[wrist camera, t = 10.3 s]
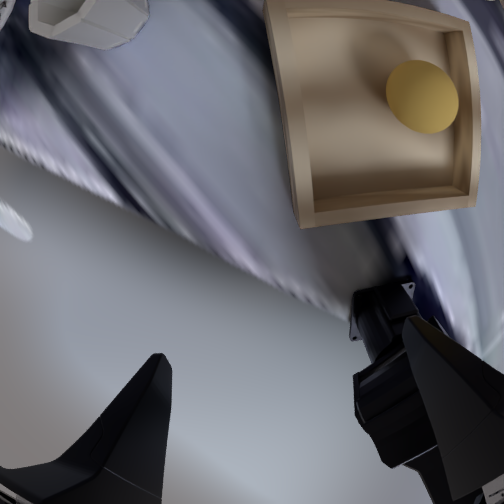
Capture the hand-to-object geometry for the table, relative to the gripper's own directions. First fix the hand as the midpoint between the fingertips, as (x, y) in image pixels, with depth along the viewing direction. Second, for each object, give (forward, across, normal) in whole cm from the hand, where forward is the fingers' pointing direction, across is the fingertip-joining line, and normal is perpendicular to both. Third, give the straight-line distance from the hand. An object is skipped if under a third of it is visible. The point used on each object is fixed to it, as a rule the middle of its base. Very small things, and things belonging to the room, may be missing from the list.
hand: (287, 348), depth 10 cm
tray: (+13, -10, -7) cm, 18 cm away
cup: (+13, +8, -17) cm, 23 cm away
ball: (+10, -11, -8) cm, 17 cm away
